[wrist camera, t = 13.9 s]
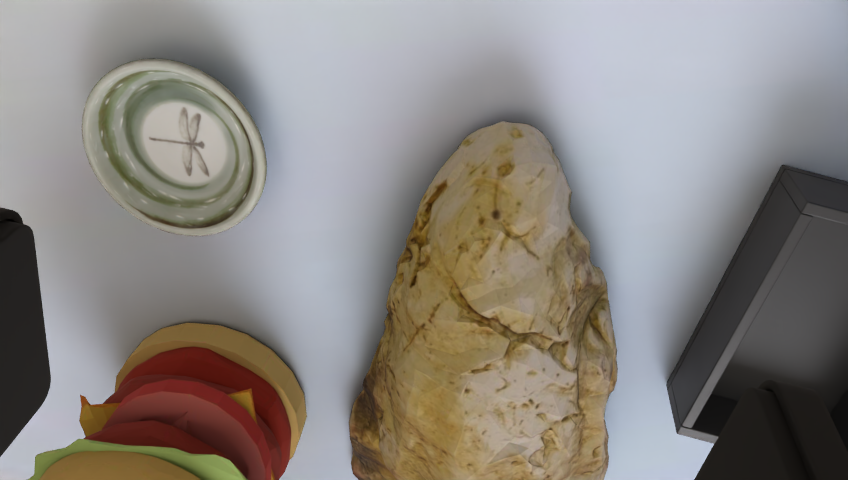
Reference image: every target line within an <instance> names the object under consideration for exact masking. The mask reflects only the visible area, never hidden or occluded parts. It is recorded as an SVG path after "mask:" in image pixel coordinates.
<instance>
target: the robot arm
mask: <svg viewBox="0 0 848 480" xmlns="http://www.w3.org/2000/svg"><path fill="white" fill-rule="evenodd" d="M50 382H51V375H50V367H49V358H48V350H47V342H46V333H45V325H44V317H43V308H42V300H41V292H40V283H39V275H38V267H37V258H36V250H35V242H34V235H33V231H32V229H31V228H30V227H29V226H27V225H24V224H23V221H22V218H21V217H20V215H19V214H18V213H17V212H15V211H13V210H9V209H5V208H0V457H1V455H2V454H3V453H4V452H5V450H6V449H7V448H8V447H9V445H10V444H11V443H12V442H13V440H14V439H15V438H16V437H17V435H18V434H19V433H20V432H21V430H22V429H23V428H24V427H25V425H26V424H27V423H28V422H29V420H30V419H31V418H32V417H33V415H34V414H35V413H36V412H37V410H38V409H39V408H40V407H41V405H42V404H43V402H44V401H45V398H46V396H47V394H48V391H49V388H50ZM694 480H848V452H847V449H846V447H845V445H844V443H843V441H842V439H841V437H840V435H839V433H838V431H837V428H836V426H835V424H834V422H833V420H832V418H831V416H830V414H829V412H828V410H827V408H826V405H825V403H824V401H823V399H822V397H821V396H820V395H819V393H818V392H817V391H815V390H813V389H809V388H805V387H800V386H796V385H791V384H787V383H782V382H778V381H773V380H766V381H765V382H763V383H762V384H761V385H760V386H759V387H758V389H757V388H748V389H747V390H745V392H744V393H743V394H742V396H741V398H740V400H739V401H738V403H737V405H736V407H735V409H734V410H733V412H732V414H731V416H730V417H729V419H728V421H727V423H726V424H725V426H724V428H723V430H722V432H721V433H720V435H719V437H718V439H717V440H716V442H715V444H714V446H713V448H712V449H711V451H710V453H709V455H708V456H707V458H706V460H705V462H704V463H703V465H702V467H701V469H700V471H699V472H698V474H697V476H696V478H695V479H694Z"/></svg>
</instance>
